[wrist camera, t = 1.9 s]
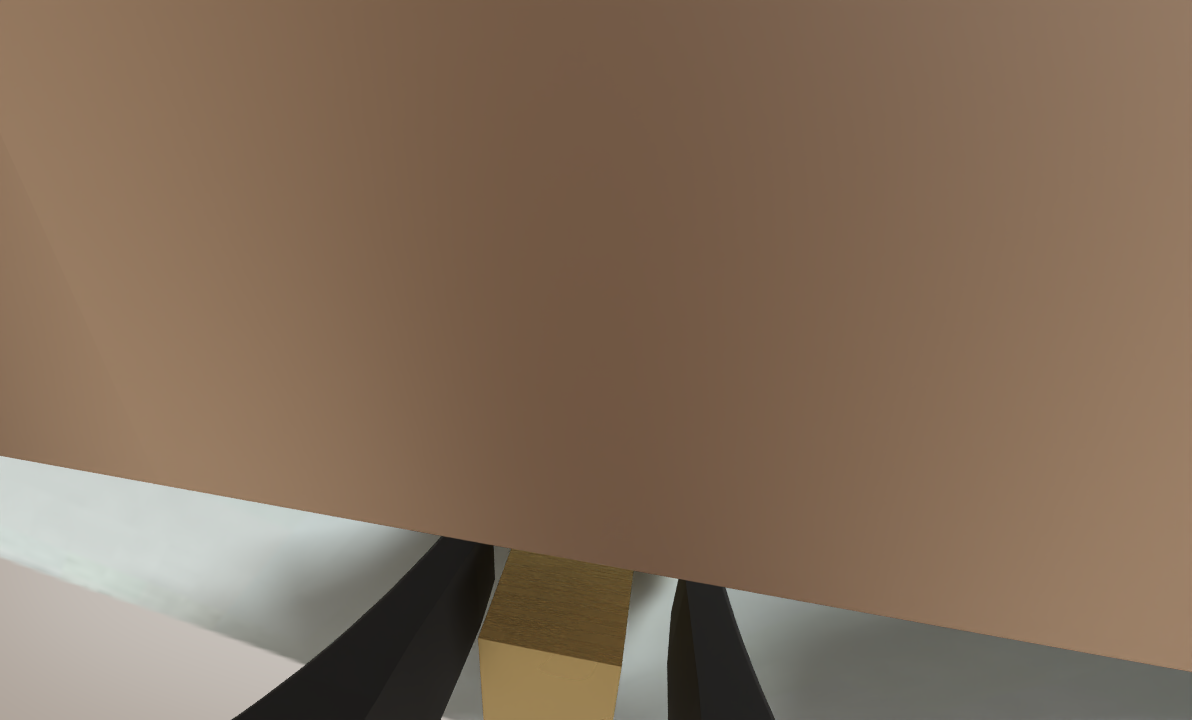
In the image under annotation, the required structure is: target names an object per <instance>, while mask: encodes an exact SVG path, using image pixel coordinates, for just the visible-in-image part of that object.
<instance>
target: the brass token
mask: <svg viewBox="0 0 1192 720" xmlns="http://www.w3.org/2000/svg"><path fill="white" fill-rule="evenodd" d="M632 578H633V570H627V569H622V568H616V567H611V566H605V565H600V564H594V563H589V562H583V561H578V560H572V559H567V558H561V557H556V556H550V555H545V554H539V553H534V552H528V551H523V550H517V549H512V548H511V551H510V553H509V556H508V559H507V562H506V564H505V567H504V570H503V572H502V575H501V578H500V580H499V583H498V586H497V589H496V591H495V594H494V597H493V599H492V602H491V605H490V607H489V610H488V613H487V616H486V618H485V621H484V624H483V626H482V629H481V632H480V634H479V637H478V645H479V659H480V674H481V689H482V703H483V718H484V720H613V717H614V711H615V704H616V698H617V692H618V686H619V679H620V673H621V667H622V659H623V651H624V643H625V635H626V626H627V618H628V610H629V602H630V594H631V586H632Z"/></svg>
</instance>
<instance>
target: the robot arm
mask: <svg viewBox="0 0 1192 720" xmlns="http://www.w3.org/2000/svg"><path fill="white" fill-rule="evenodd" d="M494 580H495V570H494V545H489V544H484V543H478V542H473V541H467V540H462V539H456V538H451V537H445V536H441V537H440V539H439V540H438V541H437V542H436V543H435V544H434V545H433V546H432V547H431V548H430V550H429V551H428V552H427V553H426V554H425V555H424V556H423V557H422V558H421V559H420V560H419V561H418V562H417V563H416V564H415V565H414V566H413V567H412V568H411V569H410V570H409V571H408V572H407V574H406V575H405V576H404V577H403V578H402V579H401V580H400V581H399V582H398V583H397V584H396V585H395V586H394V587H393V588H392V589H391V590H390V591H389V592H388V593H387V594H386V595H385V596H383V597H382V598H381V599H380V600H379V601H378V602H377V603H376V604H375V605H374V606H373V607H372V608H371V609H369V610H368V611H367V612H366V613H365V614H364V615H363V616H362V617H361V618H360V619H359V620H358V621H357V622H355V623H354V624H353V625H352V626H351V627H350V628H349V629H348V630H347V631H345V632H344V633H343V634H342V635H341V636H340V637H339V638H337V639H336V640H335V641H334V642H333V643H332V644H330V645H329V646H328V647H327V648H326V649H324V650H323V651H322V652H321V653H320V654H318V655H317V656H316V657H315V658H313V659H312V660H311V661H310V662H308V663H307V664H306V665H305V666H304V667H302V668H301V669H300V670H298V671H297V672H296V673H295V674H293V675H292V676H291V677H289V678H288V679H287V680H285V681H284V682H283V683H281V684H280V685H279V686H277V687H276V688H275V689H273V690H272V691H271V692H270V693H268V694H267V695H265V696H264V697H263V698H262V699H260V700H259V701H257V702H256V703H255V704H253V705H252V706H250V707H249V708H248V709H246V710H245V711H244V712H242V713H241V714H239V715H238V716H237V717H235V718H233V719H232V720H441V718H442V715H443V713H444V711H445V708H446V706H447V704H448V701H449V699H450V697H451V694H452V692H453V690H454V687H455V685H456V683H457V680H458V678H459V676H460V673H461V671H462V669H463V666H464V664H465V662H466V659H467V657H468V655H469V652H470V650H471V647H472V645H473V643H474V640H475V638H476V636H477V633H478V631H479V628H480V626H481V623H482V619H483V616H484V613H485V610H486V607H487V604H488V600H489V597H490V594H491V590H492V587H493V584H494ZM667 680H668V720H775V718H774V716H773V714H772V711H771V709H770V707H769V705H768V702H767V700H766V698H765V695H764V693H763V691H762V688H761V686H760V684H759V681H758V679H757V676H756V674H755V671H754V669H753V666H752V664H751V661H750V658H749V656H748V653H747V650H746V648H745V645H744V643H743V640H742V637H741V634H740V632H739V629H738V626H737V623H736V620H735V617H734V614H733V611H732V608H731V604H730V601H729V598H728V595H727V591H726V588H725V587H721V586H715V585H710V584H704V583H699V582H693V581H688V580H682V579H678V584H677V588H676V593H675V597H674V602H673V606H672V611H671V621H670V634H669V647H668V661H667Z"/></svg>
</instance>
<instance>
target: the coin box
mask: <svg viewBox="0 0 1192 720" xmlns="http://www.w3.org/2000/svg"><path fill="white" fill-rule="evenodd" d="M0 456H5V457H10V458H16V459H21V460H27V461H32V462H38V463H43V464H49V465H54V466H60V467H65V468H71V469H76V470H82V471H87V472H93V473H98V474H104V475H109V476H115V477H120V478H126V479H131V480H137V481H142V482H148V483H153V484H159V485H164V486H170V487H176V488H181V489H187V490H192V491H198V492H203V493H209V494H214V495H220V496H225V497H231V498H236V499H242V500H247V501H253V502H258V503H264V504H269V505H275V506H280V507H286V508H291V509H297V510H302V511H308V512H313V513H319V514H324V515H330V516H335V517H341V518H346V519H352V520H357V521H363V522H368V523H374V524H379V525H385V526H390V527H396V528H401V529H407V530H412V531H418V532H423V533H429V534H434V535H440V536H445V537H451V538H456V539H462V540H467V541H473V542H478V543H484V544H489V545H495V546H501V547H506V548H512V549H517V550H523V551H528V552H534V553H539V554H545V555H550V556H556V557H561V558H567V559H572V560H578V561H583V562H589V563H594V564H600V565H605V566H611V567H616V568H622V569H627V570H633V571H638V572H644V573H649V574H655V575H660V576H666V577H671V578H677V579H682V580H688V581H693V582H699V583H704V584H710V585H715V586H721V587H726V588H732V589H737V590H743V591H748V592H754V593H759V594H765V595H770V596H776V597H781V598H787V599H792V600H798V601H804V602H809V603H815V604H820V605H826V606H831V607H837V608H842V609H848V610H853V611H859V612H864V613H870V614H875V615H881V616H886V617H892V618H897V619H903V620H908V621H914V622H919V623H925V624H930V625H936V626H941V627H947V628H952V629H958V630H963V631H969V632H974V633H980V634H985V635H991V636H996V637H1002V638H1007V639H1013V640H1018V641H1024V642H1029V643H1035V644H1040V645H1046V646H1051V647H1057V648H1062V649H1068V650H1073V651H1079V652H1084V653H1090V654H1095V655H1101V656H1106V657H1112V658H1118V659H1123V660H1129V661H1134V662H1140V663H1145V664H1151V665H1156V666H1162V667H1167V668H1173V669H1178V670H1184V671H1189V672H1192V0H0Z"/></svg>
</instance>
